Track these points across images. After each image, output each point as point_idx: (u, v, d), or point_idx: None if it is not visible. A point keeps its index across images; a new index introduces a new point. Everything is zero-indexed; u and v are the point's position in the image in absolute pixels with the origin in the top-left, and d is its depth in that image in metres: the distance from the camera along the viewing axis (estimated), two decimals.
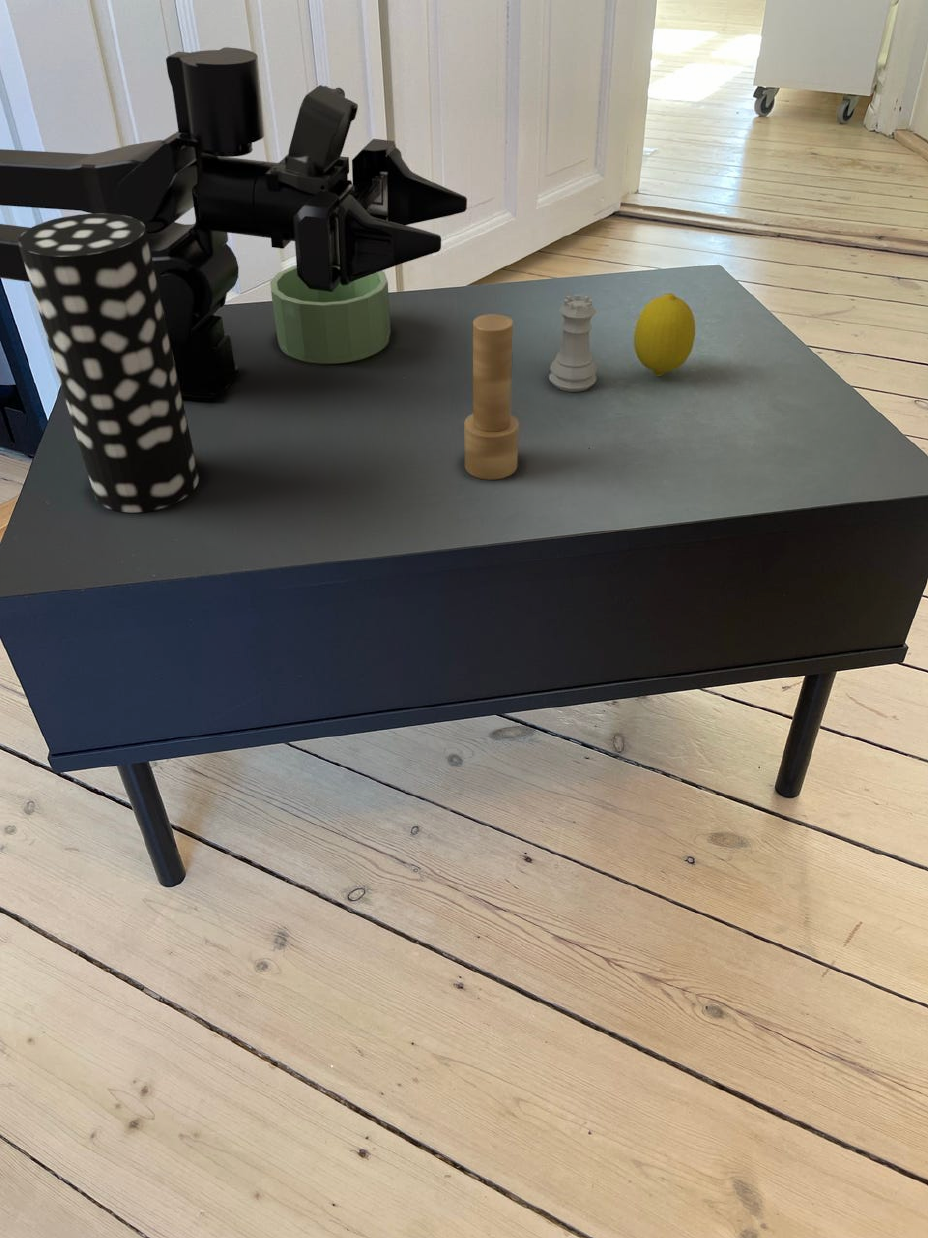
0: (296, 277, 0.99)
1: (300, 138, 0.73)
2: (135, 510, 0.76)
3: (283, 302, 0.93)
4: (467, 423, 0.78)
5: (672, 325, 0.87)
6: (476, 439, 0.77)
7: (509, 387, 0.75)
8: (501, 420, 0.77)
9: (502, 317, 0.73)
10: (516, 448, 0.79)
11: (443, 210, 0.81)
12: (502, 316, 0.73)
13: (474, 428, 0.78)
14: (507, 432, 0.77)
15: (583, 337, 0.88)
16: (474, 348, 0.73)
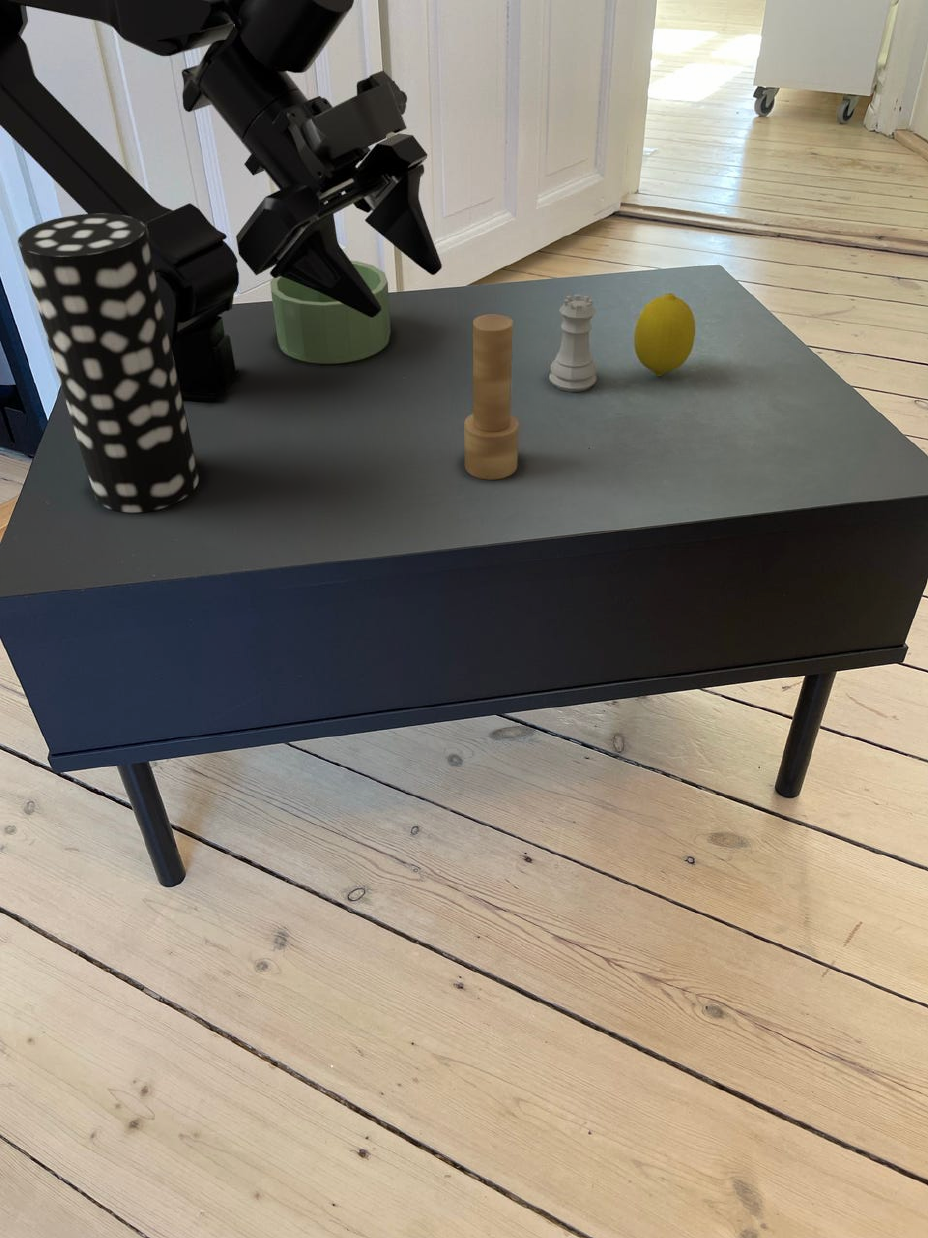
0: None
1: (330, 119, 0.67)
2: (135, 510, 0.76)
3: (283, 302, 0.93)
4: (467, 423, 0.78)
5: (672, 325, 0.87)
6: (476, 439, 0.77)
7: (509, 387, 0.75)
8: (501, 420, 0.77)
9: (502, 317, 0.73)
10: (516, 448, 0.79)
11: (416, 257, 0.78)
12: (502, 316, 0.73)
13: (474, 428, 0.78)
14: (507, 432, 0.77)
15: (583, 337, 0.88)
16: (474, 348, 0.73)
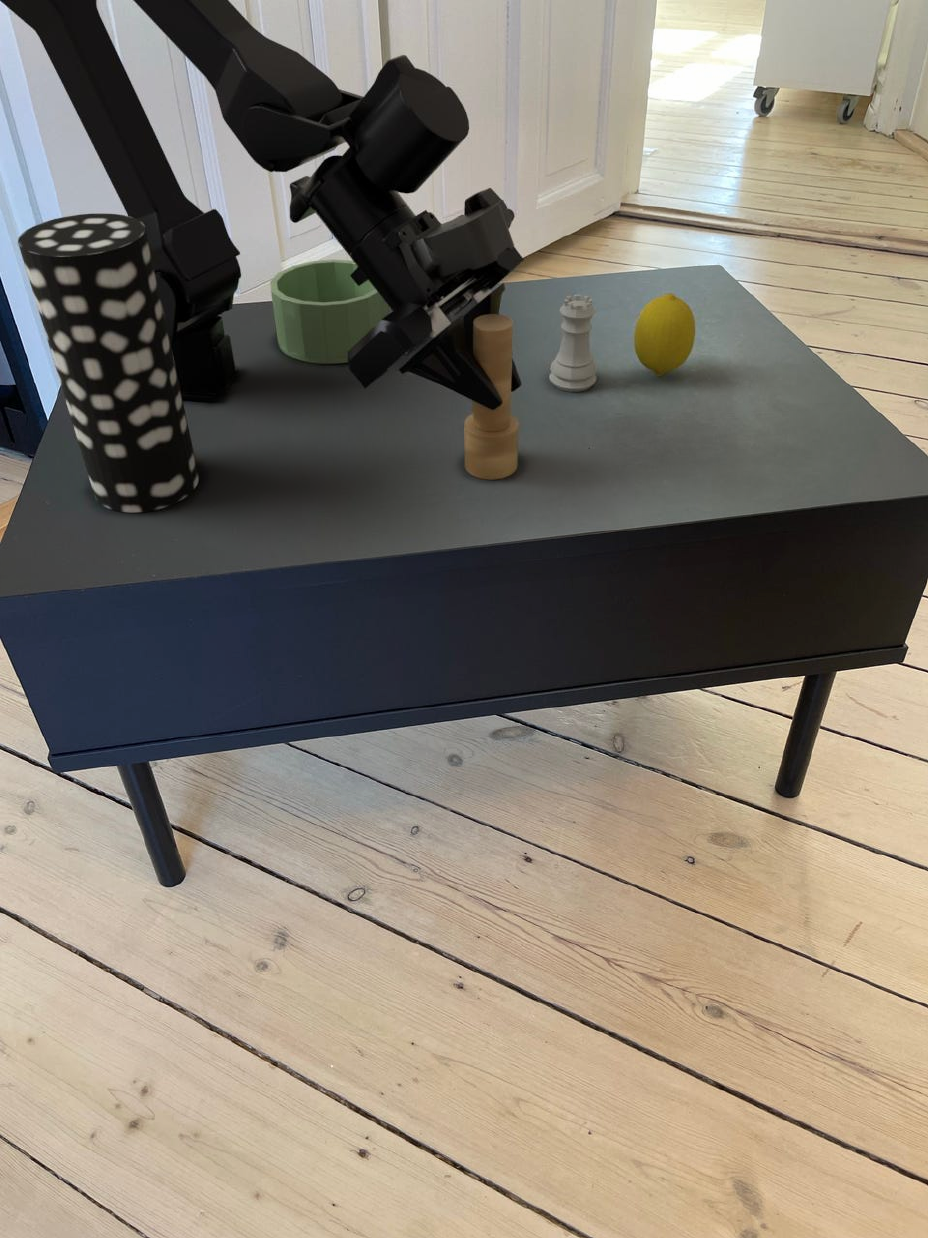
0: (296, 277, 0.99)
1: (443, 241, 0.68)
2: (135, 510, 0.76)
3: (283, 302, 0.93)
4: (467, 423, 0.78)
5: (672, 325, 0.87)
6: (476, 438, 0.77)
7: (509, 387, 0.75)
8: (501, 420, 0.77)
9: (502, 317, 0.73)
10: (516, 448, 0.79)
11: None
12: (502, 316, 0.73)
13: (474, 428, 0.78)
14: (507, 432, 0.77)
15: (583, 337, 0.88)
16: (474, 348, 0.73)
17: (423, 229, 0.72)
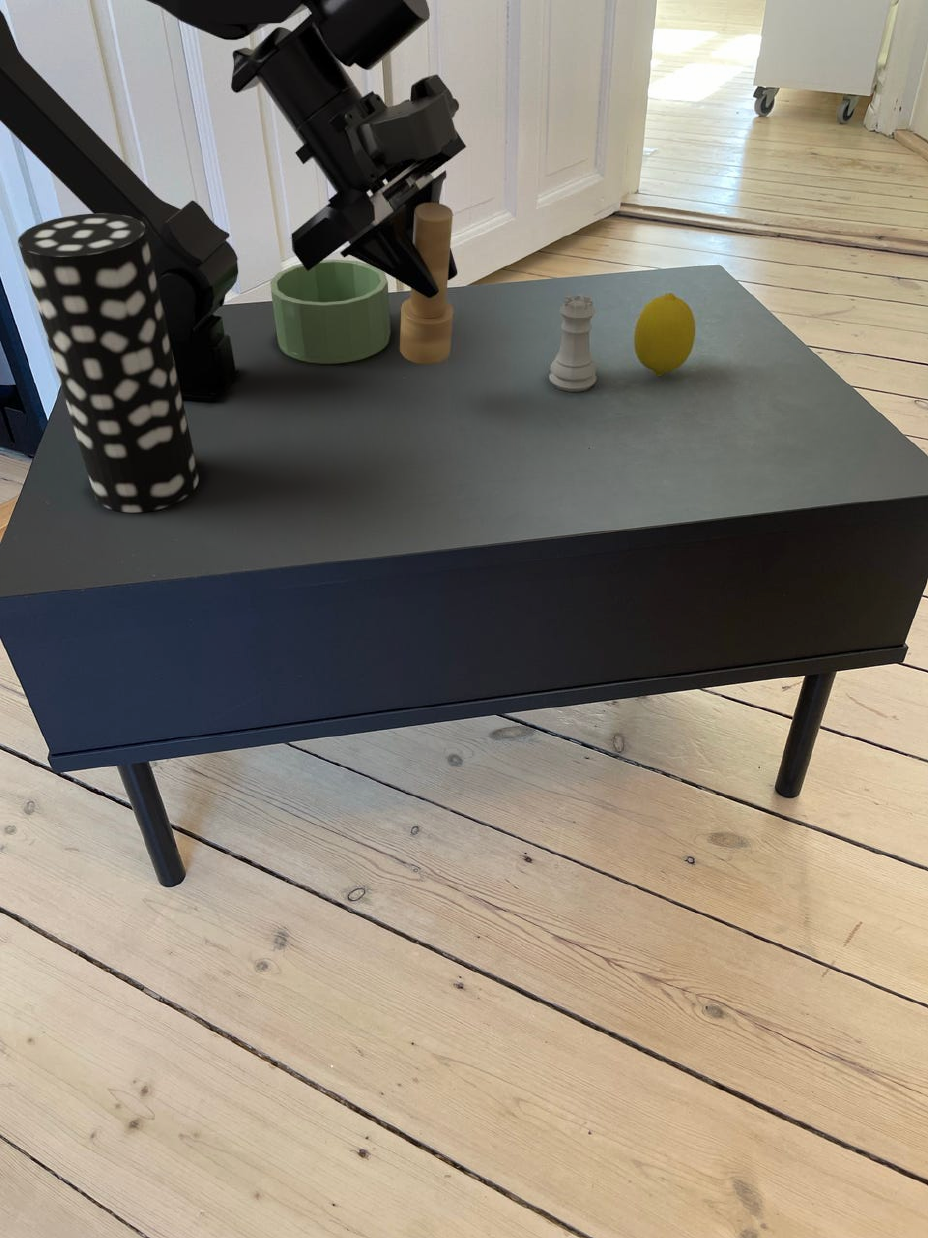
0: (296, 277, 0.99)
1: (389, 129, 0.70)
2: (135, 510, 0.76)
3: (283, 302, 0.93)
4: (404, 308, 0.82)
5: (672, 325, 0.87)
6: (412, 324, 0.81)
7: (446, 276, 0.79)
8: (437, 308, 0.80)
9: (442, 207, 0.76)
10: (450, 335, 0.83)
11: None
12: (443, 206, 0.76)
13: (411, 313, 0.81)
14: (442, 320, 0.81)
15: (583, 337, 0.88)
16: (414, 236, 0.76)
17: (369, 111, 0.73)
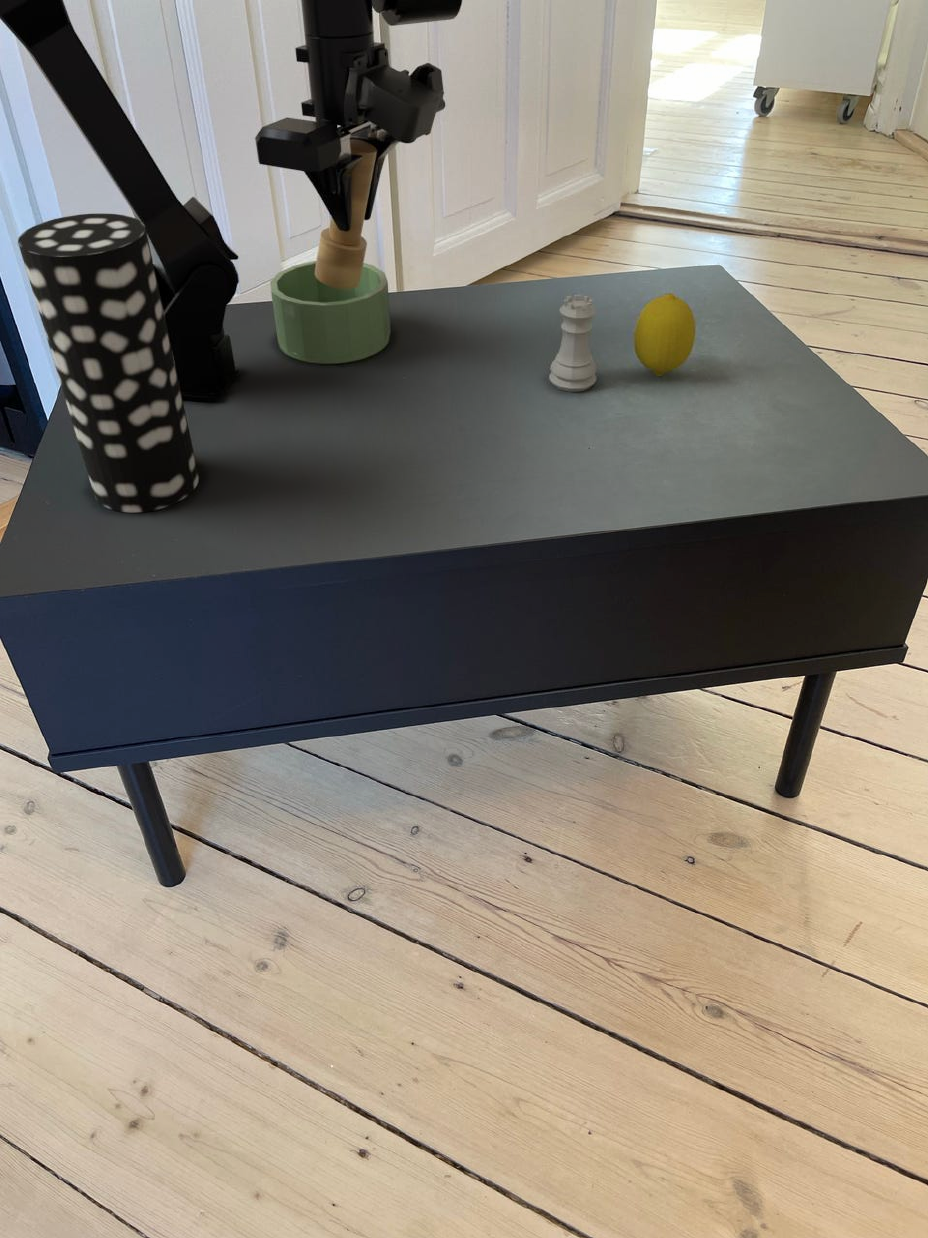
0: (296, 277, 0.99)
1: (385, 100, 0.79)
2: (135, 510, 0.76)
3: (283, 302, 0.93)
4: (323, 233, 0.91)
5: (672, 325, 0.87)
6: (327, 246, 0.90)
7: (363, 208, 0.89)
8: (351, 236, 0.90)
9: (369, 145, 0.87)
10: (360, 266, 0.92)
11: None
12: (369, 144, 0.87)
13: (328, 238, 0.91)
14: (354, 248, 0.91)
15: (583, 337, 0.88)
16: None
17: (373, 61, 0.81)
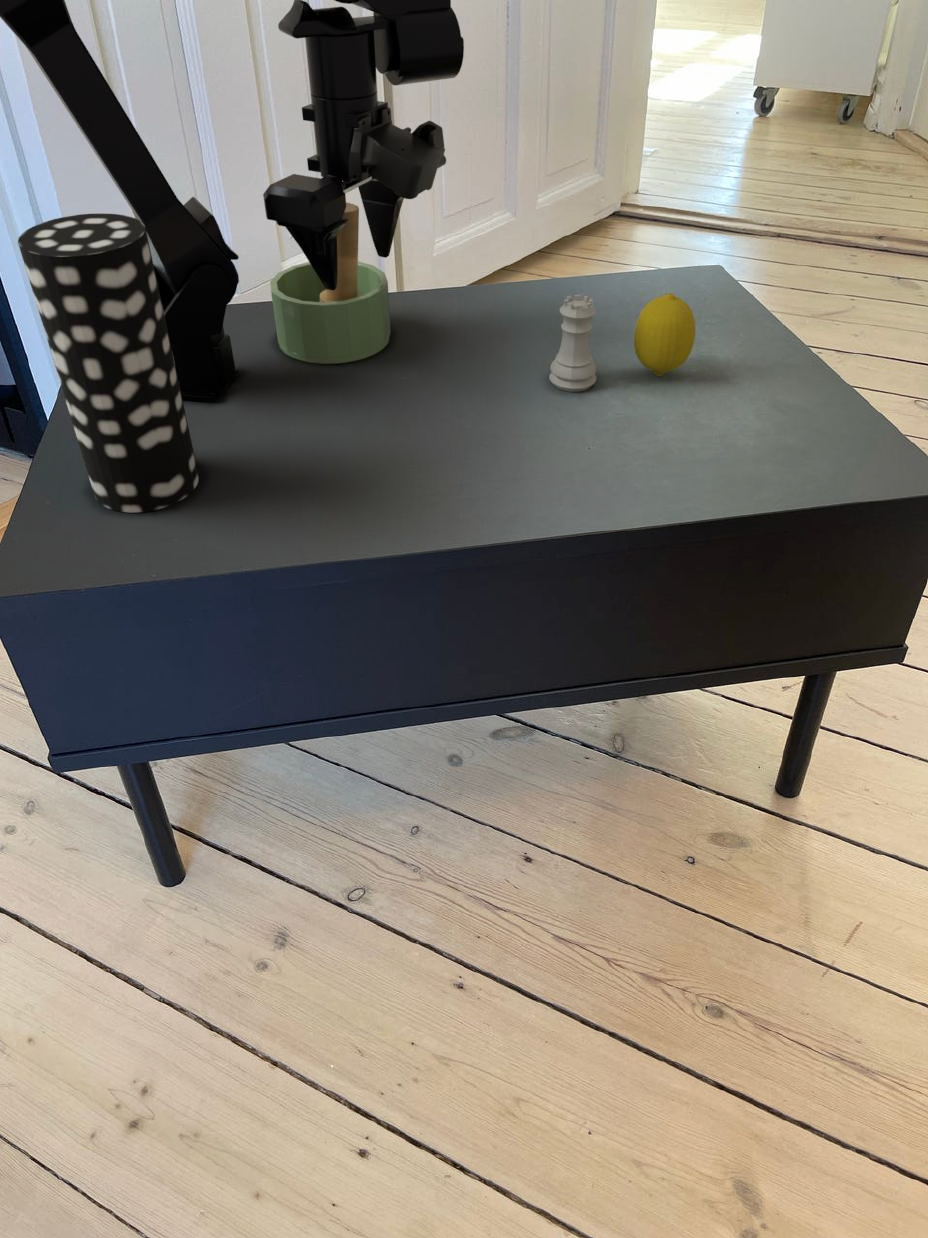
0: (296, 277, 0.99)
1: (388, 158, 0.82)
2: (135, 510, 0.76)
3: (283, 302, 0.93)
4: (322, 294, 0.96)
5: (672, 325, 0.87)
6: None
7: (355, 265, 0.93)
8: (347, 292, 0.94)
9: (351, 205, 0.91)
10: None
11: (375, 236, 0.95)
12: (352, 204, 0.91)
13: (326, 298, 0.95)
14: None
15: (583, 337, 0.88)
16: None
17: (377, 120, 0.84)
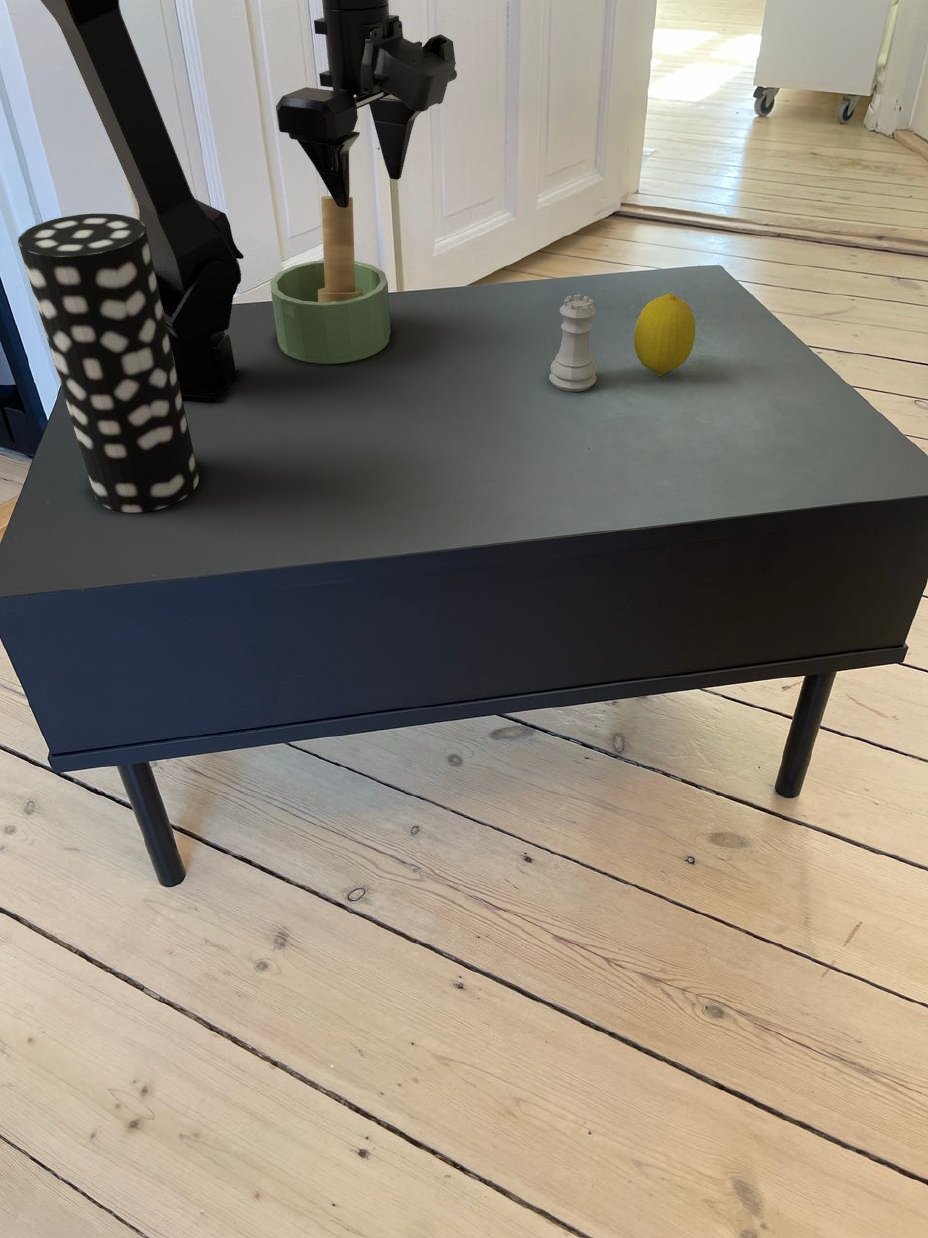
0: (296, 277, 0.99)
1: (399, 69, 0.83)
2: (135, 510, 0.76)
3: (283, 302, 0.93)
4: (320, 289, 0.96)
5: (672, 325, 0.87)
6: (324, 297, 0.95)
7: (351, 254, 0.94)
8: (345, 282, 0.95)
9: None
10: None
11: (387, 157, 0.96)
12: None
13: (324, 290, 0.96)
14: (350, 292, 0.95)
15: (583, 337, 0.88)
16: (322, 218, 0.93)
17: (388, 33, 0.85)
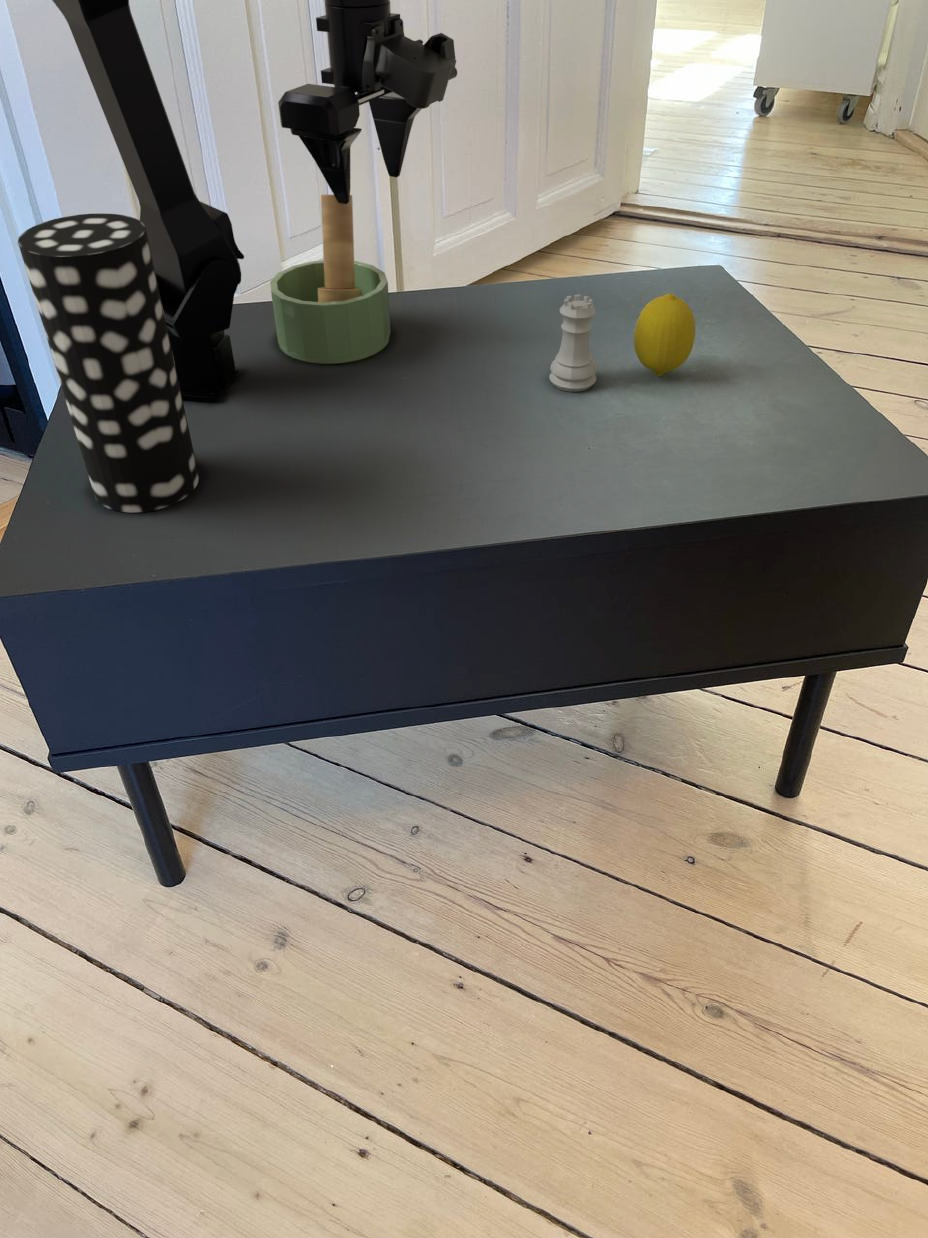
0: (296, 277, 0.99)
1: (401, 66, 0.84)
2: (135, 510, 0.76)
3: (283, 302, 0.93)
4: None
5: (672, 325, 0.87)
6: (324, 293, 0.95)
7: (351, 251, 0.94)
8: (344, 279, 0.95)
9: None
10: None
11: (386, 155, 0.97)
12: None
13: (324, 288, 0.96)
14: (349, 289, 0.95)
15: (583, 337, 0.88)
16: (322, 215, 0.94)
17: (390, 31, 0.86)
